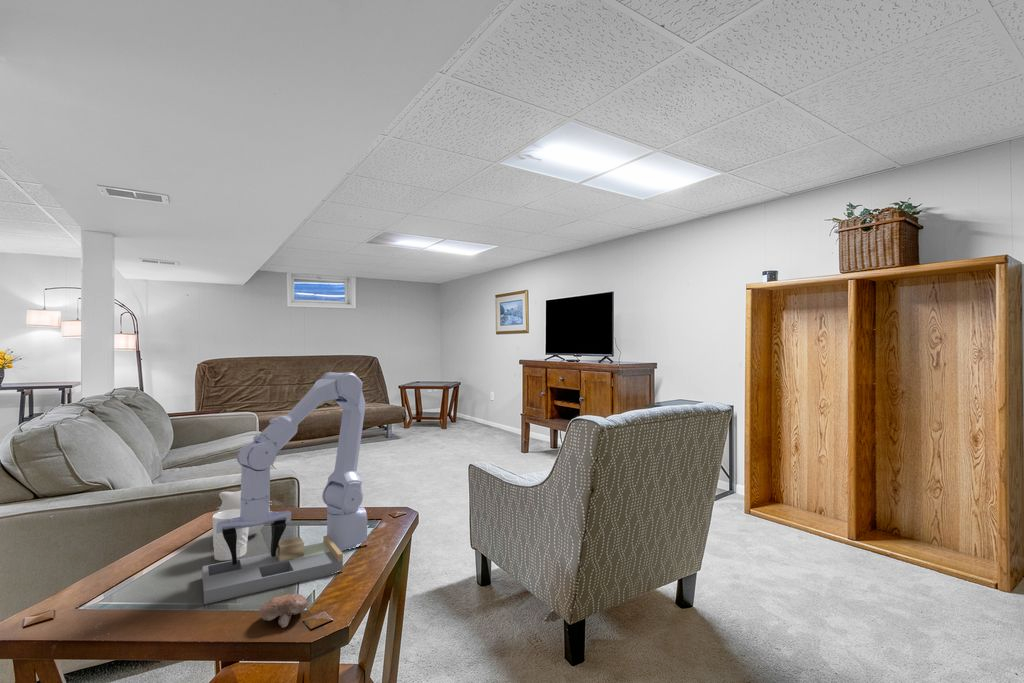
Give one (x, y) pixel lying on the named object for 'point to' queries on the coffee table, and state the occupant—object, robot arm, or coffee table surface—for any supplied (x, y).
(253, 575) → the board
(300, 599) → the mushroom
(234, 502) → the cat head
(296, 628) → the coffee table surface
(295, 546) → the maple block
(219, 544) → the white cup
